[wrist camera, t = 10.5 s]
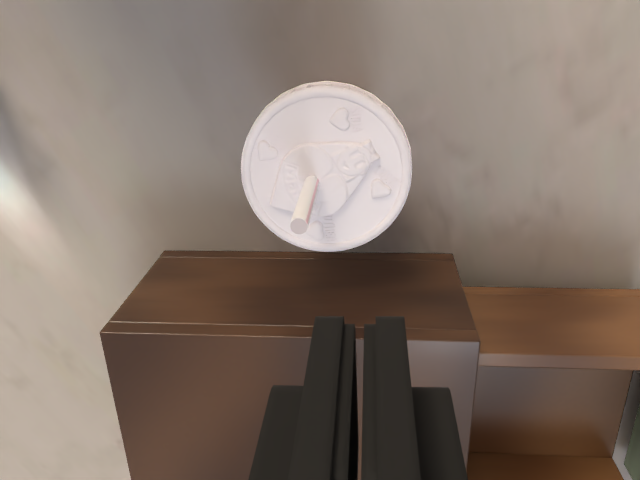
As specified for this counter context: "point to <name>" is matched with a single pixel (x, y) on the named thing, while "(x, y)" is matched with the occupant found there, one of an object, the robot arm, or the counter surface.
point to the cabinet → (266, 346)
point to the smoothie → (326, 166)
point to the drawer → (553, 382)
